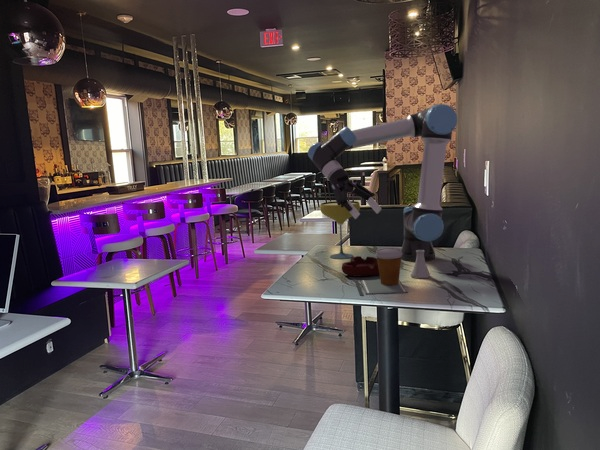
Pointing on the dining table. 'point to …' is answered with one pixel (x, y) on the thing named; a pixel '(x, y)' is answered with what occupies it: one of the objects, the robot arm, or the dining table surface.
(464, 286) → the dining table surface
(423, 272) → the flask
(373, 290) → the mat
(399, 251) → the disposable coffee cup
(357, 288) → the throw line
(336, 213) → the cocktail glass
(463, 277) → the dining table surface
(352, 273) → the ashtray
